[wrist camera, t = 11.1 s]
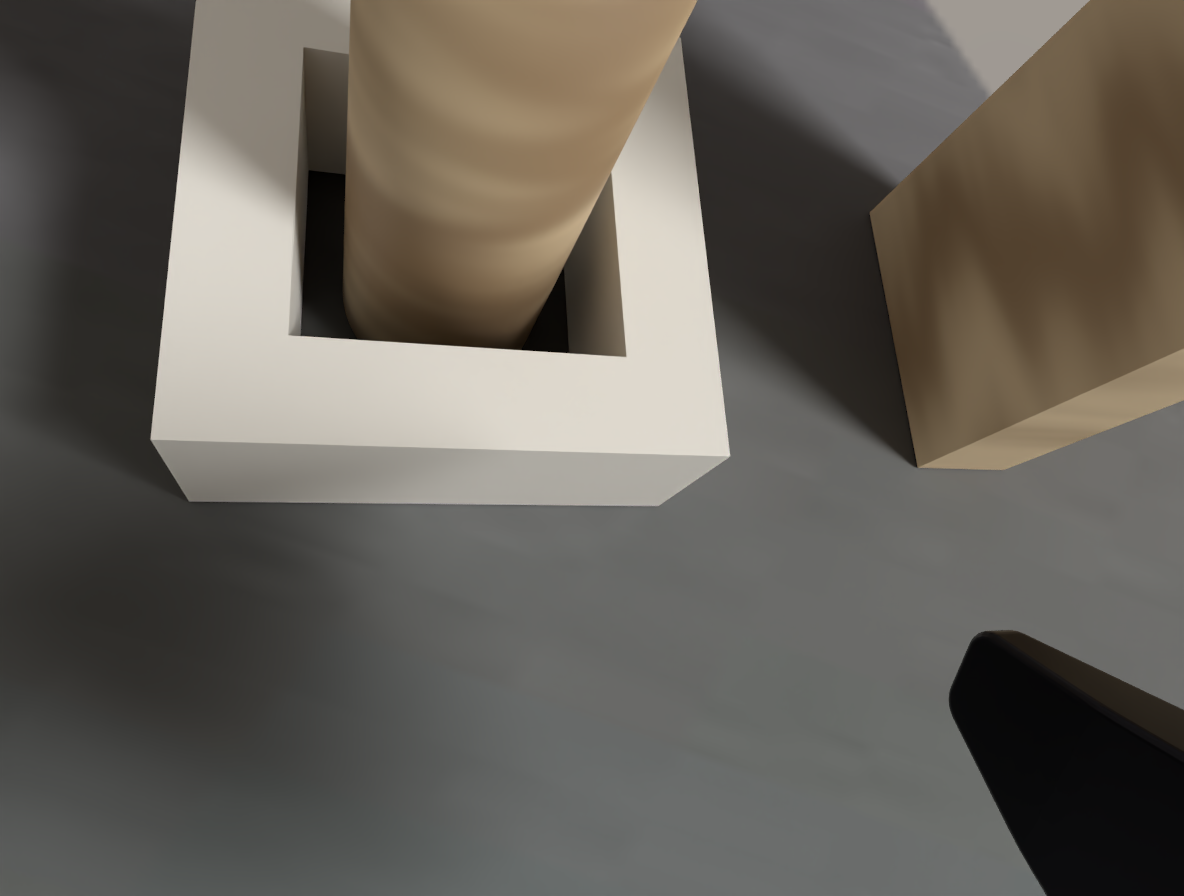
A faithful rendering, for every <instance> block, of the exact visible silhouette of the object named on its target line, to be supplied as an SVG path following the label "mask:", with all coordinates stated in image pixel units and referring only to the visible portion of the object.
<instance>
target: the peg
mask: <svg viewBox="0 0 1184 896" xmlns="http://www.w3.org/2000/svg"><path fill="white" fill-rule="evenodd" d="M696 2H697V0H351V2H350V38H349V75H348V112H347V148H346V185H345V221H344V258H343V304H344V308H345V313H346V316H347V319H348V322H349V324H350V327H351V328H352V330H353V332H354V334H355V336H356V337H357V339H358V340H368V341H384V342H399V343H415V344H431V345H446V346H462V347H477V348H493V349H508V350H521V349H522V347H523V346H524V344H525V342H526V340H527V338H528V336H529V334H530V332H531V330H532V328H533V326H534V324H535V322H536V320H537V318H538V316H539V314H540V312H541V310H542V308H543V306H544V304H545V302H546V300H547V298H548V297H549V295H550V293H551V291H552V289H553V287H554V285H555V283H556V281H557V279H558V277H559V275H560V273H561V271H562V269H563V267H564V265H565V263H566V261H567V259H568V257H569V255H570V253H571V251H572V249H573V247H574V245H575V243H576V241H577V239H578V237H579V235H580V233H581V231H582V229H583V227H584V225H585V223H586V221H587V219H588V217H589V215H590V213H591V211H592V209H593V207H594V205H595V203H596V201H597V199H598V197H599V195H600V193H601V191H602V189H603V187H604V185H605V183H606V181H607V179H608V177H609V175H610V173H611V171H612V169H613V167H614V165H615V163H616V161H617V159H618V157H619V155H620V153H621V151H622V149H623V147H624V145H625V143H626V141H627V139H628V137H629V135H630V133H631V131H632V129H633V127H634V125H635V123H636V121H637V119H638V117H639V116H640V114H641V112H642V110H643V108H644V106H645V104H646V102H647V100H648V98H649V96H650V94H651V92H652V90H653V88H654V86H655V84H656V82H657V80H658V78H659V76H660V74H661V72H662V70H663V68H664V66H665V64H666V62H667V60H668V58H669V56H670V54H671V52H672V50H673V48H674V46H675V44H676V42H677V40H678V38H679V36H680V34H681V32H682V30H683V28H684V26H685V24H686V22H687V20H688V18H689V16H690V14H691V12H692V10H693V8H694V6H695V4H696Z"/></svg>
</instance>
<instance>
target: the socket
mask: <svg viewBox="0 0 1184 896" xmlns="http://www.w3.org/2000/svg"><path fill="white" fill-rule="evenodd" d="M350 2H351V0H196V5H195V15H194V25H193V34H192V44H191V54H190V63H189V73H188V83H187V92H186V102H185V111H184V121H183V131H182V140H181V150H180V160H179V169H178V179H177V189H176V198H175V208H174V218H173V227H172V237H171V247H170V256H169V266H168V276H167V285H166V295H165V305H164V314H163V324H162V333H161V343H160V353H159V362H158V372H157V382H156V391H155V401H154V411H153V420H152V430H151V441H152V443H153V445H154V446H155V448H156V449H157V451H158V453H159V454H160V456H161V457H162V459H163V461H164V462H165V464H166V465H167V467H168V469H169V470H170V472H171V473H172V475H173V477H174V478H175V480H176V481H177V483H178V485H179V486H180V488H181V489H182V491H183V493H184V494H185V496H186V497H187V499H188V501H189V502H287V503H390V504H492V505H595V506H659V505H660V504H662V503H663V502H665V501H666V500H668V499H669V498H670V497H672V496H673V495H675V494H676V493H678V492H679V491H681V490H682V489H684V488H685V487H686V486H688V485H689V484H691V483H692V482H694V481H695V480H697V479H698V478H700V477H701V476H702V475H704V474H705V473H707V472H708V471H710V470H711V469H713V468H714V467H716V466H717V465H718V464H720V463H721V462H723V461H724V460H726V459H727V458H729V457H730V451H729V443H728V434H727V426H726V417H725V409H724V400H723V392H722V383H721V375H720V366H719V358H718V349H717V341H716V332H715V324H714V316H713V307H712V299H711V290H710V282H709V273H708V265H707V256H706V248H705V239H704V231H703V222H702V214H701V205H700V197H699V188H698V180H697V171H696V163H695V155H694V146H693V138H692V129H691V121H690V112H689V104H688V95H687V87H686V78H685V70H684V61H683V53H682V44H681V38H678V40H677V42H676V44H675V46H674V48H673V50H672V52H671V54H670V56H669V58H668V60H667V62H666V64H665V66H664V68H663V70H662V72H661V74H660V76H659V78H658V80H657V82H656V84H655V86H654V88H653V90H652V92H651V94H650V96H649V98H648V100H647V102H646V104H645V106H644V108H643V110H642V112H641V114H640V116H639V117H638V119H637V121H636V123H635V125H634V127H633V129H632V131H631V133H630V135H629V137H628V139H627V141H626V143H625V145H624V147H623V149H622V151H621V153H620V155H619V157H618V159H617V161H616V163H615V165H614V167H613V169H612V171H611V173H610V175H609V177H608V179H607V181H606V183H605V185H604V187H603V189H602V191H601V193H600V195H599V197H598V199H597V201H596V203H595V205H594V207H593V209H592V211H591V213H590V215H589V217H588V219H587V221H586V223H585V225H584V227H583V229H582V231H581V233H580V235H579V237H578V239H577V241H576V243H575V245H574V247H573V249H572V251H571V253H570V255H569V257H568V259H567V261H566V263H565V265H564V276H565V293H566V310H567V327H568V344H569V353H555V352H539V351H524V350H508V349H493V348H477V347H462V346H446V345H431V344H415V343H399V342H384V341H368V340H353V339H337V338H322V337H306V336H301V318H302V297H303V276H304V255H305V235H306V214H307V193H308V172H309V170H311V171H320V172H328V173H337V174H345V175H346V148H347V112H348V75H349V38H350Z"/></svg>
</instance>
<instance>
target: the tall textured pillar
mask: <svg viewBox="0 0 1184 896" xmlns="http://www.w3.org/2000/svg"><path fill="white" fill-rule="evenodd" d="M870 218H871V223H872V228H873V234H874V239H875V244H876V249H877V255H878V260H879V265H880V271H881V276H882V281H883V287H884V292H885V297H886V302H887V308H888V313H889V318H890V324H891V329H892V334H893V340H894V345H895V350H896V355H897V361H898V366H899V371H900V377H901V382H902V387H903V393H904V398H905V403H906V408H907V414H908V419H909V424H910V430H911V435H912V440H913V446H914V451H915V456H916V461H917V467H918V468H947V469H984V470H1005V469H1007V468H1010V467H1012V466H1015V465H1018V464H1020V463H1023V462H1025V461H1028V460H1031V459H1033V458H1036V457H1038V456H1041V455H1043V454H1046V453H1049V452H1051V451H1054V450H1056V449H1059V448H1062V447H1064V446H1067V445H1069V444H1072V443H1074V442H1077V441H1080V440H1082V439H1085V438H1087V437H1090V436H1092V435H1095V434H1098V433H1100V432H1103V431H1105V430H1108V429H1111V428H1113V427H1116V426H1118V425H1121V424H1123V423H1126V422H1129V421H1131V420H1134V419H1136V418H1139V417H1142V416H1144V415H1147V414H1149V413H1152V412H1154V411H1157V410H1160V409H1162V408H1165V407H1167V406H1170V405H1172V404H1175V403H1178V402H1180V401H1183V400H1184V0H1090V1H1089V2H1088V3H1087V4H1086V5H1085V6H1084V7H1083V8H1082V9H1081V10H1080V11H1078V12H1077V13H1076V14H1075V15H1074V16H1073V17H1072V18H1071V19H1070V20H1069V21H1068V22H1067V23H1066V24H1065V25H1064V26H1063V27H1062V28H1061V29H1060V30H1059V31H1058V32H1057V33H1056V34H1054V35H1053V36H1052V37H1051V38H1050V39H1049V40H1048V41H1047V42H1046V43H1045V44H1044V45H1043V46H1042V47H1041V48H1040V49H1039V50H1038V51H1037V52H1036V53H1035V54H1034V55H1033V56H1032V57H1031V58H1030V59H1029V60H1028V61H1027V62H1025V63H1024V64H1023V65H1022V66H1021V67H1020V68H1019V69H1018V70H1017V71H1016V72H1015V73H1014V74H1013V75H1012V76H1011V77H1010V78H1009V79H1008V80H1007V81H1006V82H1005V83H1004V84H1003V85H1002V86H1001V87H999V88H998V89H997V90H996V91H995V92H994V93H993V94H992V95H991V96H990V97H989V98H988V99H987V100H986V101H985V102H984V103H983V104H982V105H981V106H980V107H979V108H978V109H977V110H976V111H975V112H973V113H972V114H971V115H970V116H969V117H968V118H967V119H966V120H965V121H964V122H963V123H962V124H961V125H960V126H959V127H958V128H957V129H956V130H955V131H954V132H953V133H952V134H951V135H950V136H949V137H948V138H946V139H945V140H944V141H943V142H942V143H941V144H940V145H939V146H938V147H937V148H936V149H935V150H934V151H933V152H932V153H931V154H930V155H929V156H928V157H927V158H926V159H925V160H924V161H923V162H922V163H921V164H919V165H918V166H917V167H916V168H915V169H914V170H913V171H912V172H911V173H910V174H909V175H908V176H907V177H906V178H905V179H904V180H903V181H902V182H901V183H900V184H899V185H898V186H897V187H896V188H895V189H894V190H892V191H891V192H890V193H889V194H888V195H887V196H886V197H885V198H884V199H883V200H882V201H881V202H880V203H879V204H878V205H877V206H876V207H875V208H874V209H873V210H872V211H871V212H870Z"/></svg>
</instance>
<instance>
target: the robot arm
mask: <svg viewBox="0 0 1184 896" xmlns="http://www.w3.org/2000/svg"><path fill="white" fill-rule="evenodd" d="M949 707H950V711H951V714H952V716H953V719H954V721H955V723H956V725H957V727H958V729H959V731H960V733H961V735H962V737H963V739H964V741H965V743H966V745H967V747H968V749H969V751H970V753H971V755H972V757H973V759H974V761H975V763H976V765H977V767H978V769H979V771H980V773H981V775H982V777H983V779H984V781H985V783H986V785H987V787H988V789H989V791H990V793H991V795H992V797H993V799H994V801H995V803H996V805H997V807H998V809H999V811H1000V813H1001V815H1002V817H1003V819H1004V821H1005V823H1006V825H1007V827H1008V829H1009V831H1010V833H1011V834H1012V836H1013V838H1014V840H1015V842H1016V844H1017V846H1018V848H1019V850H1020V851H1021V853H1022V855H1023V857H1024V858H1025V860H1026V862H1027V864H1028V865H1029V867H1030V869H1031V870H1032V872H1033V874H1034V876H1035V877H1036V879H1037V880H1038V882H1039V884H1040V885H1041V887H1042V889H1043V890H1044V892H1045V894H1046V895H1047V896H1184V710H1183V709H1181V708H1179V707H1177V706H1174V705H1172V704H1170V703H1168V702H1166V701H1164V700H1162V699H1160V698H1158V697H1156V696H1153V695H1151V694H1149V693H1147V692H1145V691H1143V690H1141V689H1139V688H1137V687H1135V686H1132V685H1130V684H1128V683H1126V682H1124V681H1122V680H1120V679H1118V678H1116V677H1114V676H1111V675H1109V674H1107V673H1105V672H1103V671H1101V670H1099V669H1097V668H1095V667H1093V666H1090V665H1088V664H1086V663H1084V662H1082V661H1080V660H1078V659H1076V658H1074V657H1072V656H1069V655H1067V654H1065V653H1063V652H1061V651H1059V650H1057V649H1055V648H1053V647H1051V646H1048V645H1046V644H1044V643H1042V642H1040V641H1038V640H1036V639H1034V638H1032V637H1030V636H1027V635H1025V634H1023V633H1021V632H1018V631H1013V630H1001V631H984V632H981V633H978V634H977V635H976V636H975V637H974V638H973V639H972V641H971V642H970V644H969V646H968V649H967V651H966V653H965V656H964V658H963V660H962V663H961V665H960V667H959V670H958V672H957V674H956V677H955V679H954V681H953V684H952V686H951V689H950V692H949Z"/></svg>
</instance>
